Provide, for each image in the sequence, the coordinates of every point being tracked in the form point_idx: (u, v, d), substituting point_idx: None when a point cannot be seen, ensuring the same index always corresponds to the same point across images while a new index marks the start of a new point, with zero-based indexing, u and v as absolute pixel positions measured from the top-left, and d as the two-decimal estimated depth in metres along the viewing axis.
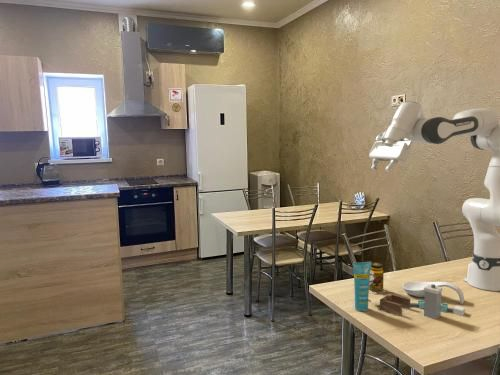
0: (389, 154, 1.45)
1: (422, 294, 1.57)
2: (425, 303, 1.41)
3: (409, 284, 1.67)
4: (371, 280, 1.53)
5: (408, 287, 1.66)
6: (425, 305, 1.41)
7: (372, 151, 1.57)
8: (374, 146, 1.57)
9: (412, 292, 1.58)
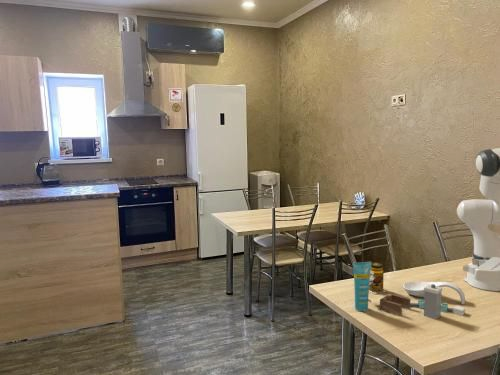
0: None
1: (423, 294, 1.57)
2: (425, 303, 1.41)
3: (410, 284, 1.67)
4: (371, 280, 1.53)
5: (409, 287, 1.66)
6: (425, 305, 1.41)
7: None
8: None
9: (413, 292, 1.58)
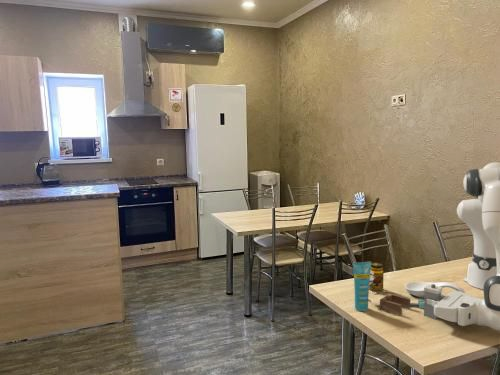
0: None
1: None
2: (425, 303, 1.41)
3: (412, 284, 1.66)
4: (371, 280, 1.53)
5: (411, 287, 1.65)
6: (425, 305, 1.41)
7: None
8: None
9: (414, 292, 1.58)
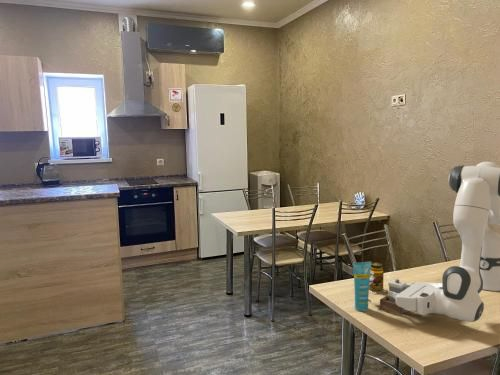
0: None
1: None
2: (389, 297, 1.47)
3: None
4: (371, 280, 1.53)
5: None
6: (389, 299, 1.47)
7: None
8: None
9: None
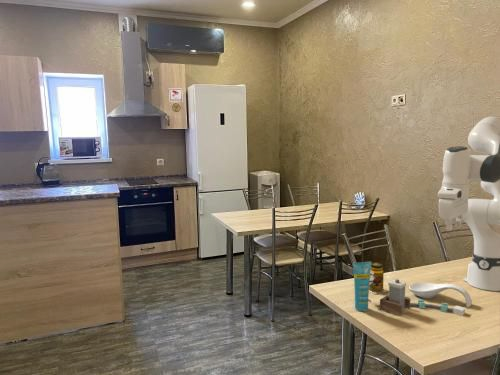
0: (463, 211, 1.41)
1: (428, 295, 1.56)
2: (389, 297, 1.47)
3: (417, 285, 1.66)
4: (371, 280, 1.53)
5: (416, 288, 1.64)
6: (389, 299, 1.47)
7: (452, 212, 1.32)
8: (453, 206, 1.32)
9: (417, 293, 1.57)
